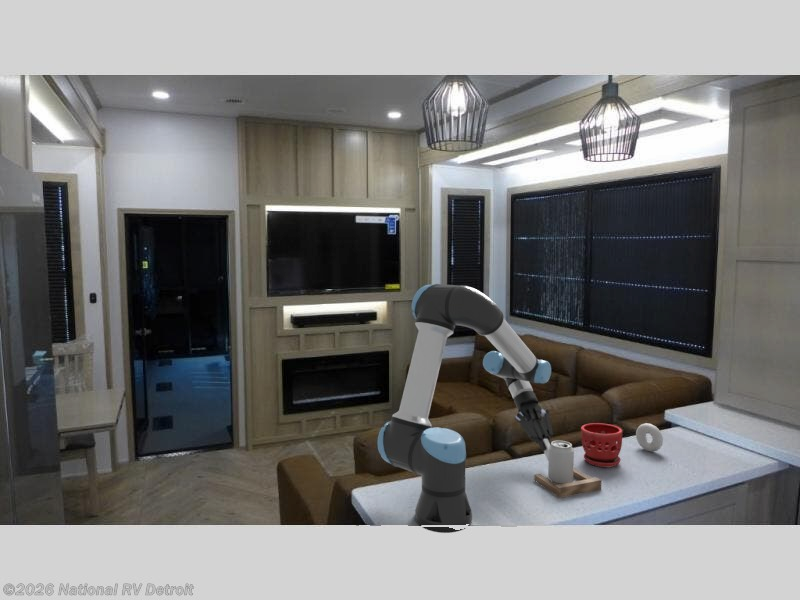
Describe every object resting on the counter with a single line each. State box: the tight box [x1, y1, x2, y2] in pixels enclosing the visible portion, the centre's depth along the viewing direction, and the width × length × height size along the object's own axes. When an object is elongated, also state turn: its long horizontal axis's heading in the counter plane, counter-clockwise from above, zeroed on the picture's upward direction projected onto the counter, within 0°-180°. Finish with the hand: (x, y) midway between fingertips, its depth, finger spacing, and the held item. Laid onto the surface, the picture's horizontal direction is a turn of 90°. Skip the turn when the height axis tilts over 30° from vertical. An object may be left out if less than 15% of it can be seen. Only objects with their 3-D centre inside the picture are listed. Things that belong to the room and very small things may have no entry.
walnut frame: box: [533, 467, 602, 499], centre depth 162 cm, size 15×12×3 cm
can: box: [547, 440, 575, 485], centre depth 164 cm, size 8×8×12 cm
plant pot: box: [580, 422, 623, 468], centre depth 179 cm, size 13×13×12 cm
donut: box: [635, 422, 664, 453], centre depth 188 cm, size 10×3×10 cm, turn 30°
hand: (552, 459), depth 169 cm, fingers closed
